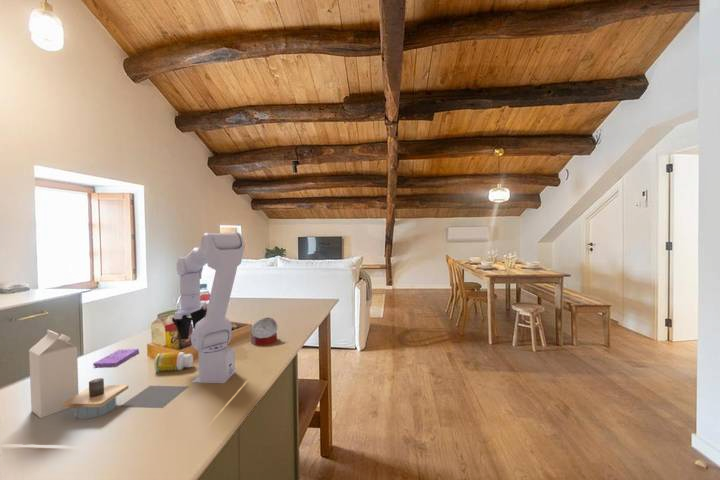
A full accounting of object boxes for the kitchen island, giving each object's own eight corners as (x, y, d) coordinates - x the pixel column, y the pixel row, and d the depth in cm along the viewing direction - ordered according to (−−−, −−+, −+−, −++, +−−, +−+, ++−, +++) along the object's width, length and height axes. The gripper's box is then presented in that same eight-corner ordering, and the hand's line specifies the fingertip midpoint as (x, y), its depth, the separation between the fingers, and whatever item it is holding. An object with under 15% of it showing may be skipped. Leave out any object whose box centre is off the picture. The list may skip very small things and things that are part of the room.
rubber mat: (188, 388, 92) (188, 386, 92) (162, 409, 81) (162, 407, 81) (150, 387, 93) (150, 385, 93) (119, 408, 82) (119, 406, 82)
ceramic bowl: (123, 403, 84) (123, 390, 84) (98, 420, 77) (98, 405, 77) (95, 403, 85) (94, 389, 84) (67, 419, 77) (67, 405, 77)
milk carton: (41, 419, 77) (38, 338, 77) (31, 411, 81) (28, 333, 80) (79, 405, 83) (76, 330, 83) (68, 398, 87) (65, 326, 86)
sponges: (139, 353, 120) (139, 348, 120) (115, 368, 108) (115, 362, 108) (118, 354, 120) (118, 349, 120) (93, 368, 107) (92, 363, 107)
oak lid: (128, 388, 85) (127, 372, 85) (100, 407, 76) (100, 389, 76) (93, 388, 85) (92, 372, 85) (61, 407, 76) (60, 389, 76)
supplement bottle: (152, 370, 100) (186, 368, 101) (156, 351, 103) (189, 349, 104) (159, 373, 105) (192, 370, 106) (162, 355, 107) (194, 353, 109)
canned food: (277, 350, 134) (287, 330, 132) (257, 356, 125) (267, 334, 123) (261, 333, 139) (270, 313, 137) (241, 337, 131) (250, 316, 129)
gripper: (190, 289, 116) (191, 328, 116) (164, 298, 101) (165, 342, 102) (210, 289, 116) (211, 328, 116) (186, 298, 101) (187, 342, 101)
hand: (191, 335), depth 109 cm, fingers open, 7 cm apart
